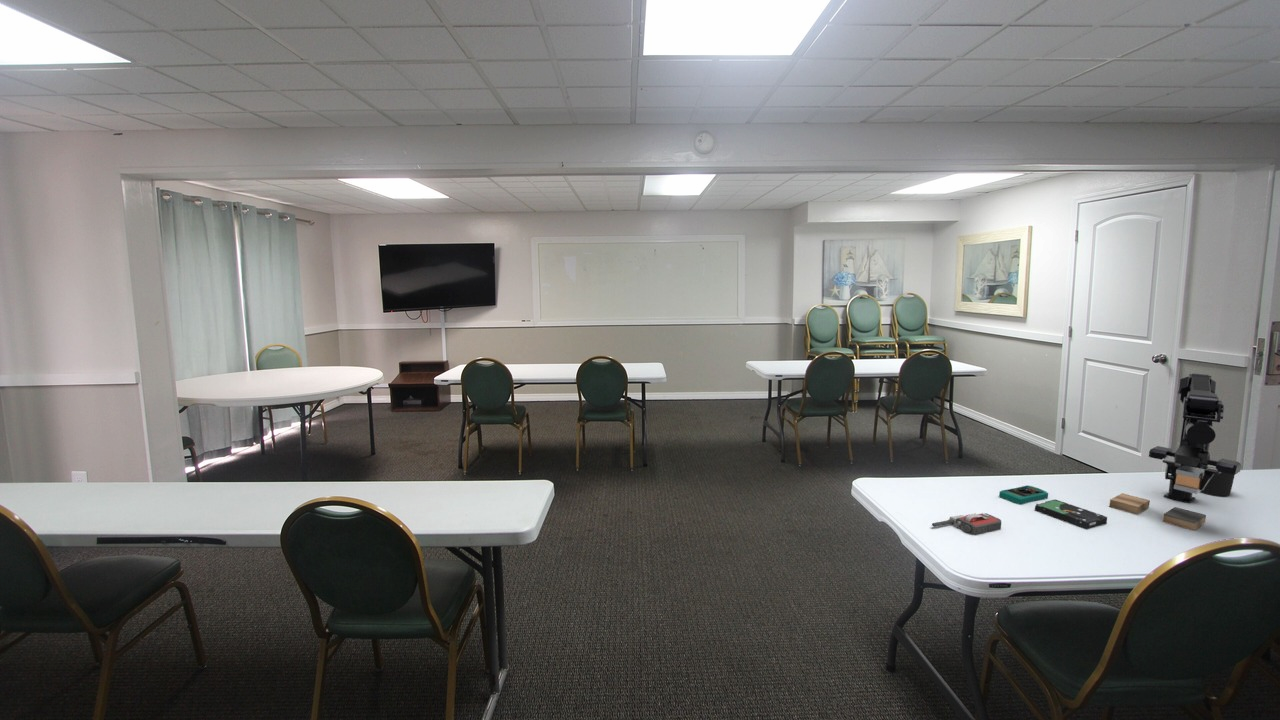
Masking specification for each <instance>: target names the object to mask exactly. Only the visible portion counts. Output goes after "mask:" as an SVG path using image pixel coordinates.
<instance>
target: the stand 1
mask: <svg viewBox="0 0 1280 720" xmlns="http://www.w3.org/2000/svg"><path fill="white" fill-rule="evenodd" d="M1150 502H1151V500H1149V499H1146V498H1143V497H1140V496H1139V497H1138V496H1134V495H1130V494H1127V493H1120V494H1118V495H1116V496H1114V497H1112V498H1110V499H1109V506H1108V507H1109V508H1112V509H1115V510H1119V511H1123V512H1127V513H1130V514H1134V515H1139V514H1141V513H1143V512H1144V511H1146V510H1148V509H1149V508H1150Z"/></svg>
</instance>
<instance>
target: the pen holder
mask: <svg viewBox="0 0 1280 720" xmlns="http://www.w3.org/2000/svg"><path fill="white" fill-rule="evenodd" d="M1201 467H1203V469H1207V468H1208V467H1207V465H1202V464H1201ZM1235 475H1236V474H1235ZM1235 475H1233V474H1227V473H1223V472H1221V473H1220V474H1215V475H1214V476H1213V477H1212V478H1211V479H1210V481H1209V482H1208V484H1207V485H1206V486H1205V488H1204V490H1202V491H1201V492H1200V493H1202V494H1205V495H1209V496H1214V497H1215V496H1216V497H1221V498H1222V497H1229V496H1231V492H1232V488H1233V483H1234V480H1235Z"/></svg>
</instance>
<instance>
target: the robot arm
mask: <svg viewBox="0 0 1280 720" xmlns="http://www.w3.org/2000/svg"><path fill="white" fill-rule="evenodd" d="M1177 385H1178V386H1177V391H1176V393H1177V395H1179V396H1178V398H1179V400H1180V402H1181V403H1182V414H1181V415H1182V422H1181V430H1180V437H1179V443H1178V444H1179V445H1178V448H1177V449H1176V450H1175V452H1174V451H1173V448H1170V447H1165V446H1160V445H1159V446H1158V445H1157V446H1155V447H1153V448H1150V450H1149V453H1148V457H1149V458H1151V459H1157V460H1162V463H1164V464H1166V467H1165V473H1164V479H1165V480H1169V485H1168V492H1166V493H1165V494H1163V497H1164V498H1168V499H1172V500H1177V501H1180V502H1185V503H1189V504H1190V503H1192V502H1194V501H1195V500H1196V497H1194V496H1193V493H1190V492H1185V491H1181V490H1177V489H1174V484H1175V482H1176V476H1177V474H1176V469H1178V468H1180V467H1182V466H1184V465H1186V466H1190V467H1195V468H1200V469H1203V467H1201V464H1202V465H1207V467H1208V468H1207V469H1205V470H1204V476H1203V479H1202V483H1201V486H1200V490H1201V491H1202V490H1203V489H1204V488H1205V486H1206V485H1207V484H1208V482H1209V481H1210V479H1211V478H1212V477H1213V476H1214V475H1215V474H1220V473H1221V472H1223V473H1227V474H1233V475H1237V474H1239V473H1241V468H1242V464H1241V462H1239V461H1236V460H1231V459H1226V458H1220V459H1219V460H1214V459H1211V454H1210V451H1209V450H1210V444H1211V443H1212V442H1213V441H1214V440H1215V438H1216V431H1215V430H1214V427H1213V426H1214V423H1220V422H1221V420H1224V408H1225V407H1224V406H1225V405H1224V404H1223V401H1222V400H1219V396H1218V394H1217V393H1216V390H1217V389H1216V387H1217V382H1216V381H1215V380H1214V379H1212V375H1209V374H1205V373H1204V374H1203V373H1189V374H1188V376H1186V377H1184V378H1183V377H1182V378H1179V382H1178V384H1177ZM1213 422H1214V423H1213Z"/></svg>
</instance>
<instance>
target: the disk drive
mask: <svg viewBox="0 0 1280 720" xmlns="http://www.w3.org/2000/svg"><path fill="white" fill-rule="evenodd" d="M1034 511H1035V512H1038V513H1040V514H1043V515H1046V516H1049V517H1051V518H1054V519H1056V520H1060V521H1063V522H1065V523H1067V524H1070V525H1073V526H1076V527H1079V528H1081V529H1084V530H1089V529H1092V528H1096V527H1100V526H1104V525H1107V523H1108V516H1105V515H1103V514H1099V513H1096V512H1094V511H1092V510H1091V511H1090V510H1088V509H1085V508H1081V507H1080V506H1076V505H1073V504H1070V503H1067V502H1064V501H1061V500H1058V499H1050V500H1047V501H1044V502H1041V503H1035V506H1034Z"/></svg>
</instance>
